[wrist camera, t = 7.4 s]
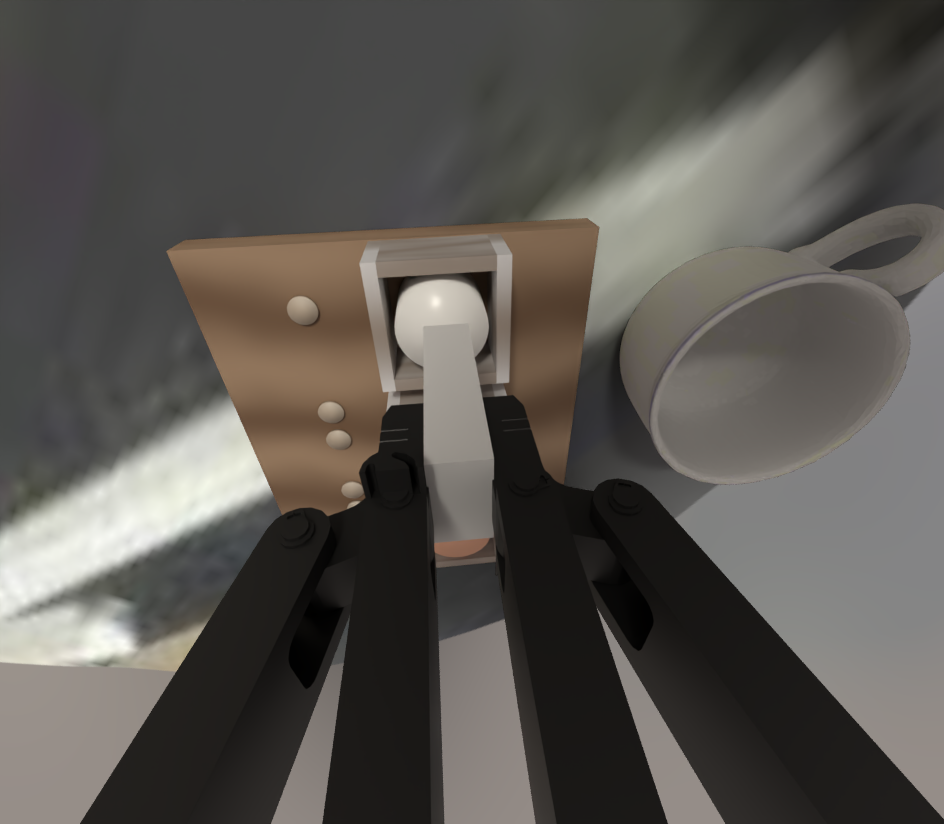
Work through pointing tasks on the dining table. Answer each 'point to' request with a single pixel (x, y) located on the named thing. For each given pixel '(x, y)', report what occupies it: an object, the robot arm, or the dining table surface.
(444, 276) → the button one
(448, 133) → the dining table surface
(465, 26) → the dining table surface
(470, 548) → the button three
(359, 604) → the robot arm
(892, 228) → the teacup
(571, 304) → the button board
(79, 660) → the dining table surface
